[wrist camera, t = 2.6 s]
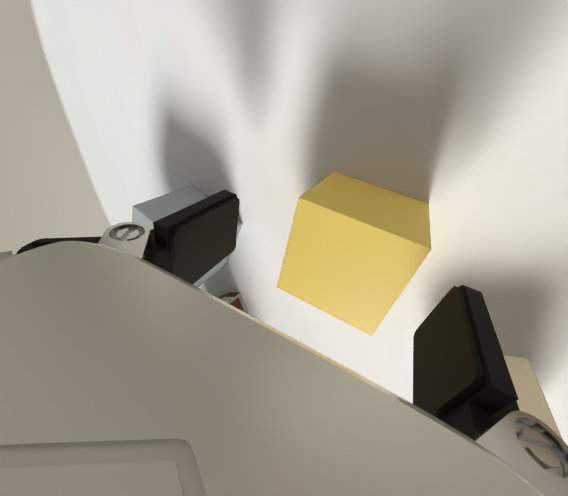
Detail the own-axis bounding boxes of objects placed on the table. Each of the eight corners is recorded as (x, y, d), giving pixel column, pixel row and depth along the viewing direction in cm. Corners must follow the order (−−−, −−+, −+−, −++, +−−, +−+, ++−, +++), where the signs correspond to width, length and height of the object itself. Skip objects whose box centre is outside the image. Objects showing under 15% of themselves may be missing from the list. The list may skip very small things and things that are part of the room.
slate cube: (243, 222, 18) (194, 254, 14) (226, 264, 21) (182, 299, 17) (192, 185, 19) (132, 205, 15) (183, 231, 22) (131, 258, 18)
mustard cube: (428, 203, 12) (431, 248, 8) (385, 276, 15) (371, 335, 11) (334, 171, 13) (298, 197, 9) (311, 243, 16) (276, 287, 12)
